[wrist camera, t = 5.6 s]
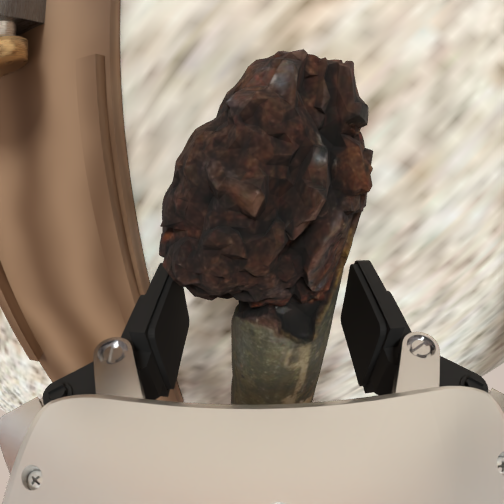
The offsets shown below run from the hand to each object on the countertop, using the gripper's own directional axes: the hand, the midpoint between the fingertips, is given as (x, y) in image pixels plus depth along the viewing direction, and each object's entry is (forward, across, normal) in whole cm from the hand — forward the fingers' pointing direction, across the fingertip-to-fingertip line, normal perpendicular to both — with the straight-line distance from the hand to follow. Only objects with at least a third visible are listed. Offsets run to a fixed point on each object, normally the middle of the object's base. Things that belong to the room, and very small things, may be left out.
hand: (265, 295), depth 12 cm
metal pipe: (+3, 0, 0) cm, 3 cm away
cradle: (+7, +15, 0) cm, 16 cm away
